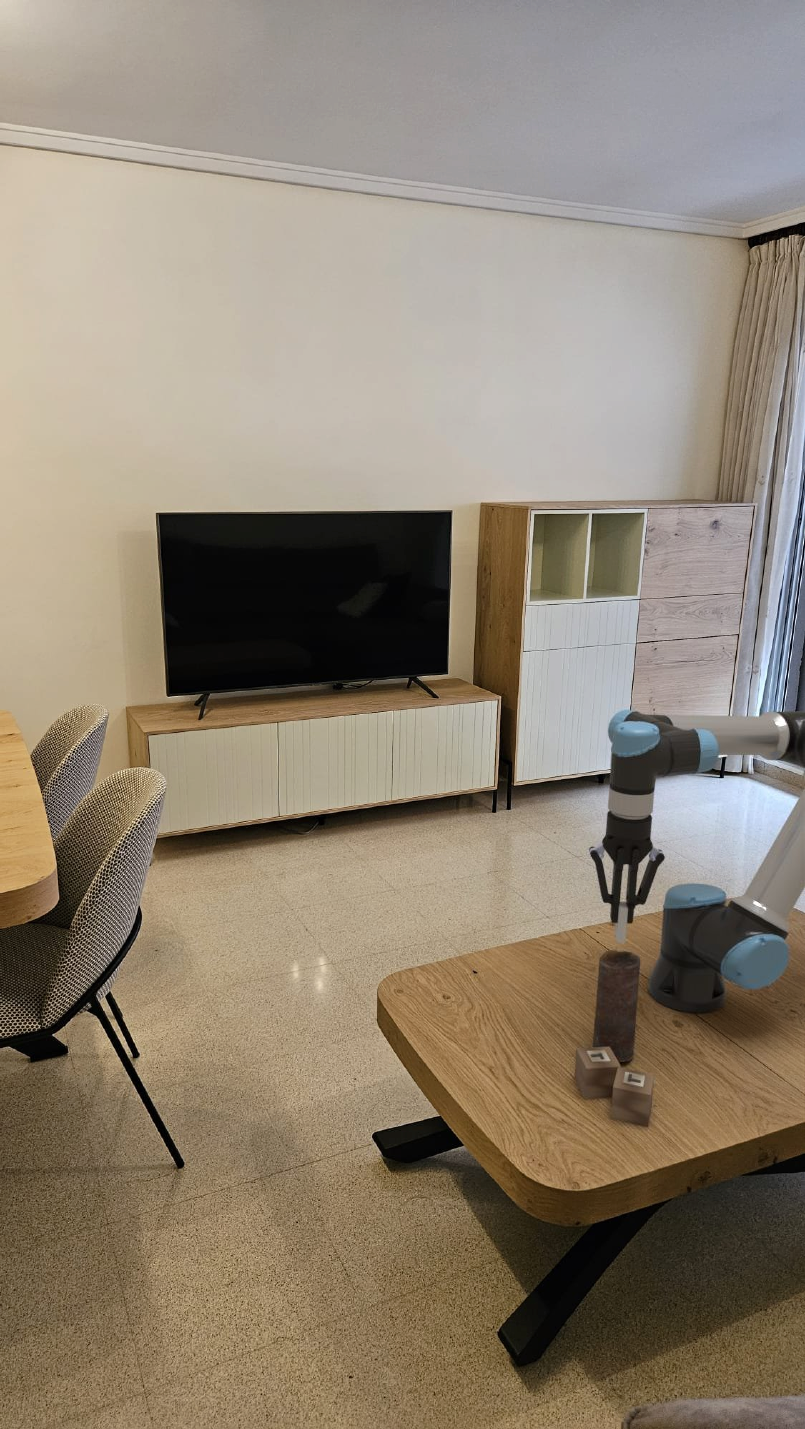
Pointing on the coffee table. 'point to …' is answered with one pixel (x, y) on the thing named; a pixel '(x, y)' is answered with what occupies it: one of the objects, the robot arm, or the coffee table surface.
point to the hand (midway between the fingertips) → (619, 938)
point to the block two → (595, 1072)
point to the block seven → (632, 1096)
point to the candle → (617, 1003)
